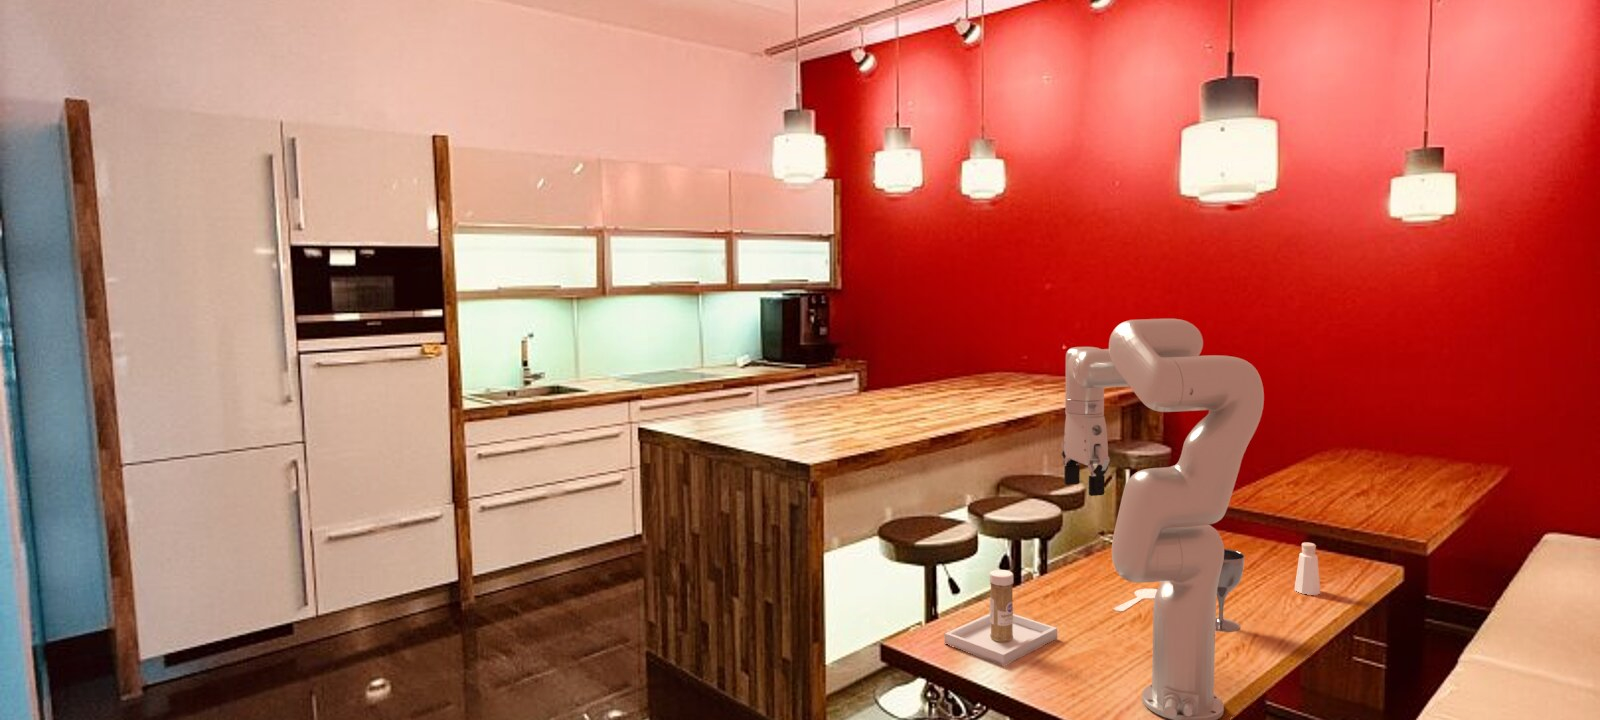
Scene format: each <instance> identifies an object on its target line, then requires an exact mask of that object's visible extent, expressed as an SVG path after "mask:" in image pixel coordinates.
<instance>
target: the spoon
mask: <svg viewBox="0 0 1600 720" xmlns="http://www.w3.org/2000/svg"><path fill="white" fill-rule="evenodd" d="M1157 590H1158V588H1157V589H1156V588H1150V587H1148V588H1141V589H1137V590H1136V591H1134V593H1133V594H1135V595H1134V596H1135V598H1132V599H1129V600H1128V601H1126V602H1125V601H1124V602H1123V603H1121V604H1119V605H1117V606H1114V607H1113V610H1114V611H1116V612H1125V611H1126V610H1128V609H1129V608H1131V607H1133V606H1134V605H1136V604H1137V603H1139V602H1140V601H1142V600H1145V599H1146V600H1151V599H1152V600H1154V598H1155V595H1156V592H1157Z"/></svg>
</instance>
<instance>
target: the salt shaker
mask: <svg viewBox="0 0 1600 720" xmlns="http://www.w3.org/2000/svg"><path fill="white" fill-rule="evenodd" d="M1316 547H1317V545H1316V544H1315V543H1313V542H1308V541H1307V542H1305V541H1304V542H1302V543H1301V552H1300V553H1299V556H1298V562H1297V570H1296V577H1295V583H1294V590H1295V591H1294V592H1296V591H1297V592H1296V593H1298V592H1299V593H1298V594H1300V593H1302V594H1301V595H1304V594H1307V595H1306V596H1311V595H1314V596H1319V595H1318V594H1320V595H1321V584H1320V574H1319V573H1320V571H1319V559H1318V555H1317V554H1316Z"/></svg>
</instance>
